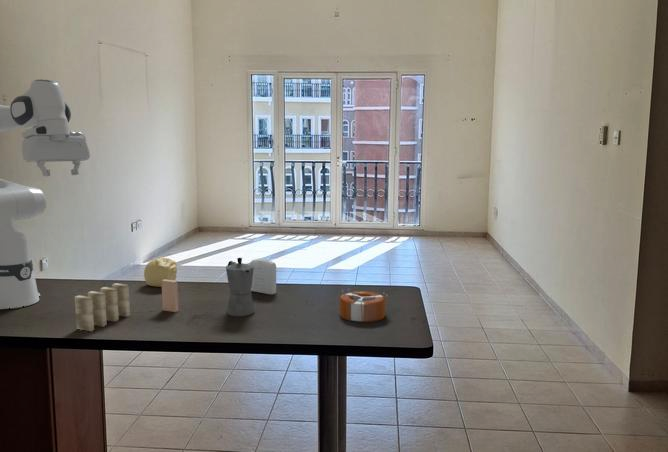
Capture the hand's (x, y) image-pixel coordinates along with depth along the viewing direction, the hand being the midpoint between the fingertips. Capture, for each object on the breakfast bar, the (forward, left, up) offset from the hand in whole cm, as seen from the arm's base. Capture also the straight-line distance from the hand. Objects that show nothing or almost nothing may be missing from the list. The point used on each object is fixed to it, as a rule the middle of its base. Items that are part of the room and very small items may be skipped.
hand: (61, 175), depth 180 cm
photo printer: (+46, +44, -44) cm, 78 cm away
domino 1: (+18, -12, -44) cm, 49 cm away
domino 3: (+18, -2, -44) cm, 48 cm away
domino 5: (+29, +13, -44) cm, 54 cm away
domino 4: (+18, +3, -44) cm, 48 cm away
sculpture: (+6, +37, -44) cm, 58 cm away
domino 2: (+18, -7, -44) cm, 48 cm away
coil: (+88, +33, -44) cm, 104 cm away
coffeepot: (+50, +21, -44) cm, 70 cm away
